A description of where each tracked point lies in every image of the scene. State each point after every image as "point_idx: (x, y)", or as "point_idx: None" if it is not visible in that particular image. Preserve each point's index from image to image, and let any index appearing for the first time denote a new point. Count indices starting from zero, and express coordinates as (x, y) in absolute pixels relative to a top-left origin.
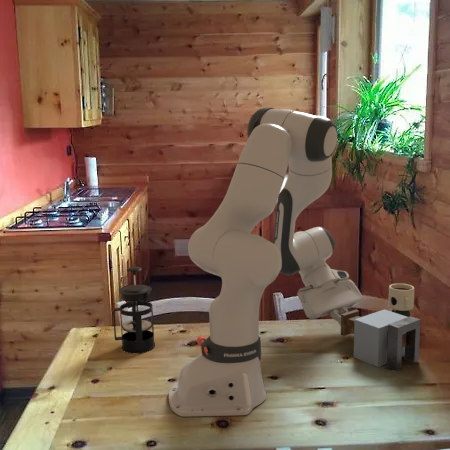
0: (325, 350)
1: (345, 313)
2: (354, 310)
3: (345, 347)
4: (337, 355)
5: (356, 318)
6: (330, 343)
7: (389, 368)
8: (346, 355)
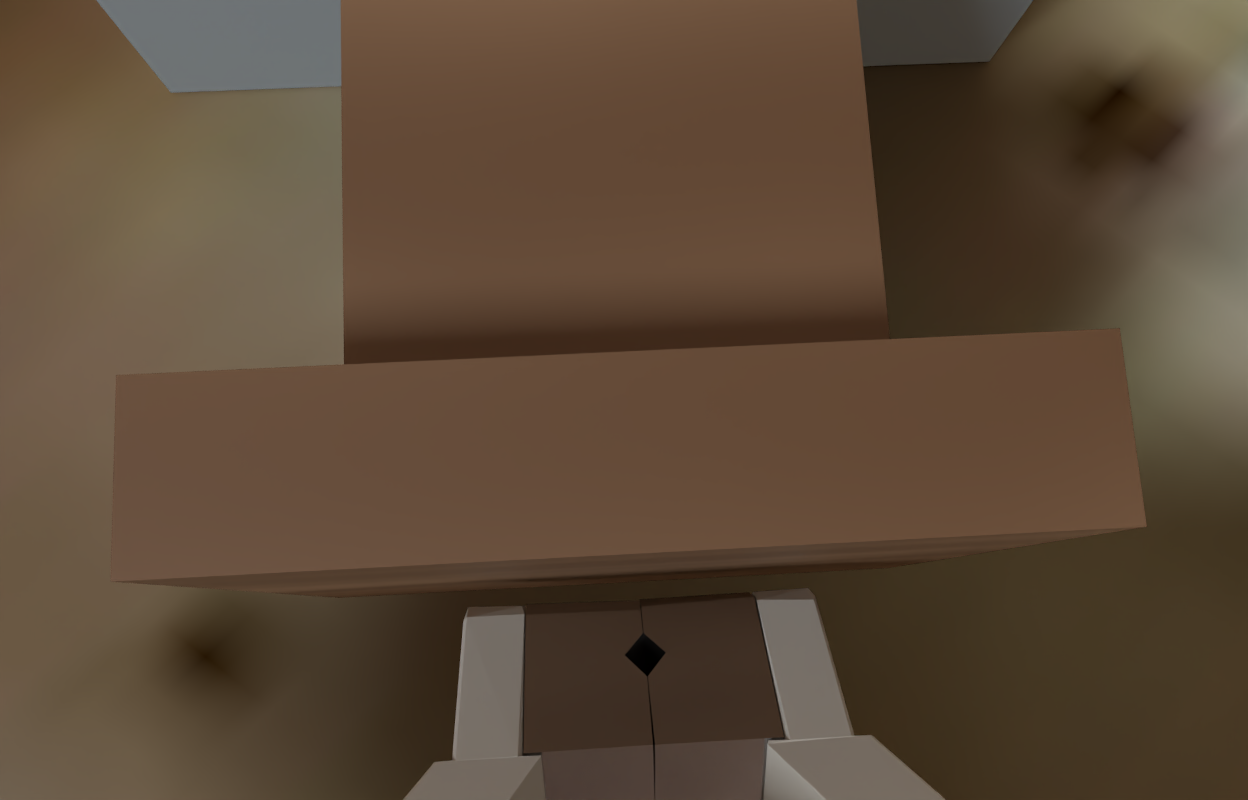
0: (1245, 567)
1: (899, 486)
2: (257, 529)
3: None
4: (1193, 268)
5: (604, 158)
6: (937, 774)
7: None
8: (1055, 175)
